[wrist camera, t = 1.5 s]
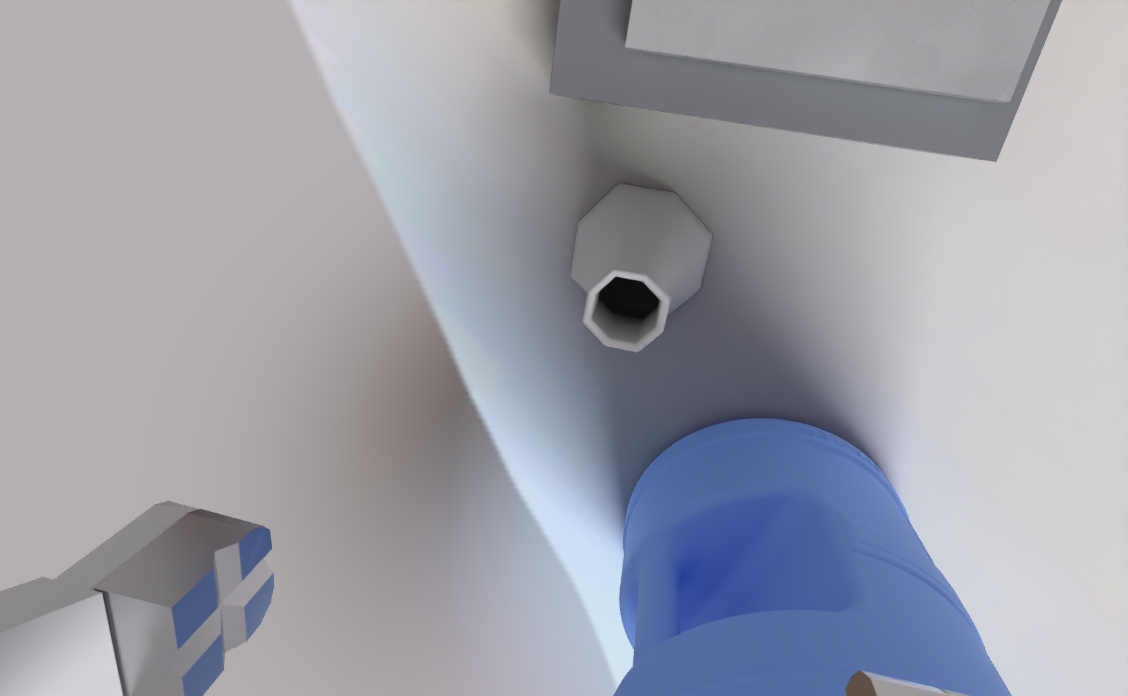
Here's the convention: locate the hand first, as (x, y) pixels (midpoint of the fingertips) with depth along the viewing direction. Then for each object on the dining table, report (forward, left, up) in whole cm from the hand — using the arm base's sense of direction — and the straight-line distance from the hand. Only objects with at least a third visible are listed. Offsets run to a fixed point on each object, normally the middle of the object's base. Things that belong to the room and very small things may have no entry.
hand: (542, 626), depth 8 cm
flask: (0, 0, -25) cm, 25 cm away
